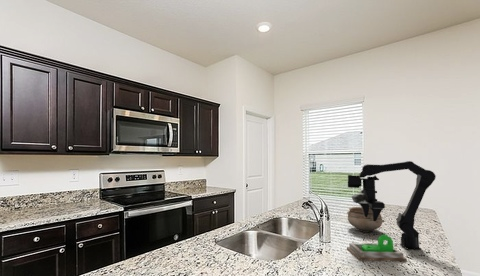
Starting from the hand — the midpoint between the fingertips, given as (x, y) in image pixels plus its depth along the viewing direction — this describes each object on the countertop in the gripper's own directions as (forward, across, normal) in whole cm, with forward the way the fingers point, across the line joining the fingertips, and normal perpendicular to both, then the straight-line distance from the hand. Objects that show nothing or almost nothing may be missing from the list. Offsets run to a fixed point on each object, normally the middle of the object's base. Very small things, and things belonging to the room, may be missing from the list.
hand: (370, 218), depth 129 cm
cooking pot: (+12, -22, +7) cm, 26 cm away
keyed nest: (+12, +16, -6) cm, 21 cm away
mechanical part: (+11, +15, -5) cm, 20 cm away
